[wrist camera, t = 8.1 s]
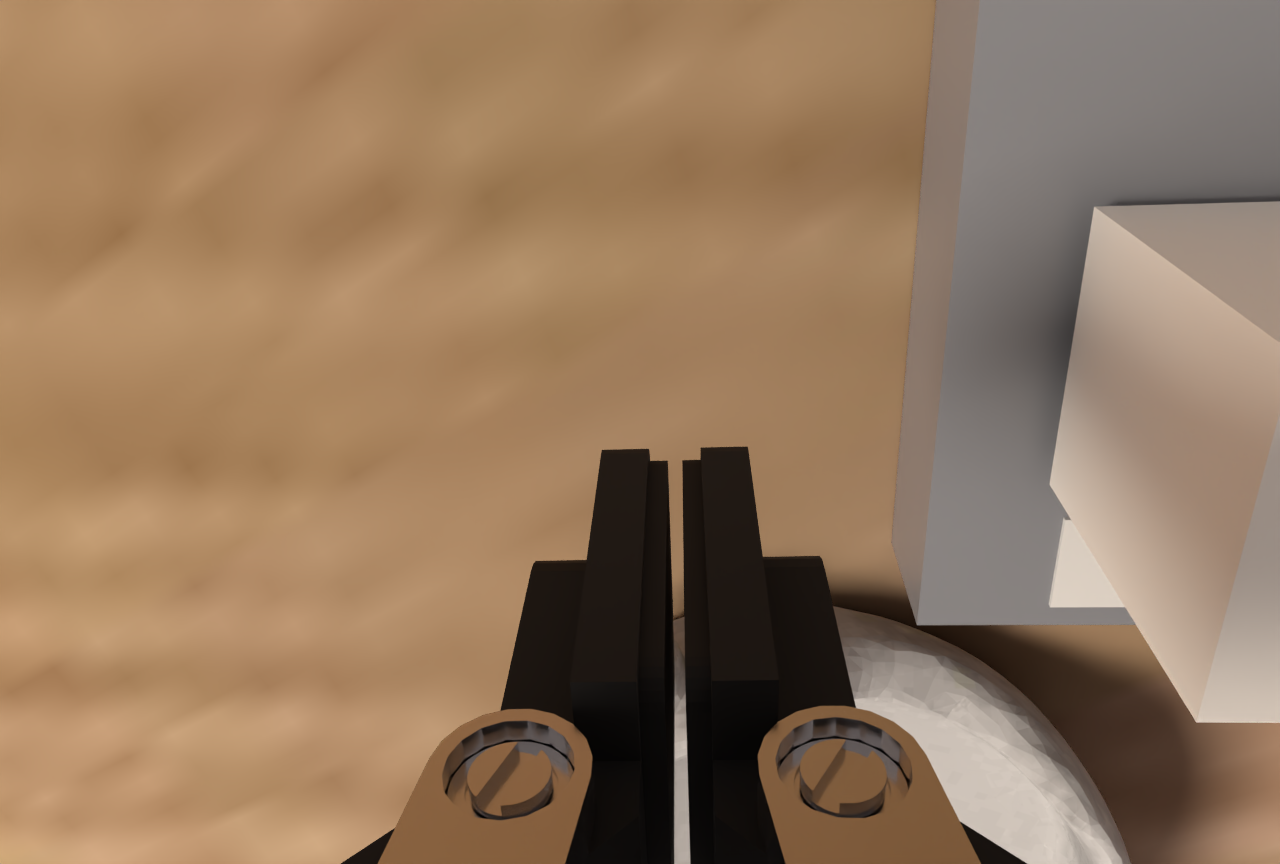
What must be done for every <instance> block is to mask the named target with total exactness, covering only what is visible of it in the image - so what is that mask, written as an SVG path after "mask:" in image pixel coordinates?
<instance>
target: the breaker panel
mask: <svg viewBox="0 0 1280 864" xmlns="http://www.w3.org/2000/svg"><path fill="white" fill-rule="evenodd" d="M1274 201H1280V0H936V10H935V22H934V34H933V46H932V58H931V70H930V83H929V95H928V107H927V119H926V131H925V143H924V155H923V167H922V179H921V191H920V204H919V216H918V228H917V240H916V252H915V264H914V276H913V288H912V300H911V313H910V325H909V337H908V349H907V361H906V373H905V385H904V397H903V409H902V421H901V434H900V446H899V458H898V470H897V482H896V494H895V506H894V518H893V530H892V546H893V549H894V552H895V556H896V559H897V562H898V565H899V569H900V572H901V575H902V578H903V582H904V585H905V588H906V591H907V594H908V598H909V601H910V604H911V607H912V611H913V614H914V617H915V620H916V624H917V625H1136V624H1135V622H1134V621H1133V619H1132V617H1131V616H1130V614H1129V613H1128V611H1127V609H1126V608H1125V606H1124V604H1123V603H1122V601H1121V600H1120V598H1119V596H1118V595H1117V593H1116V591H1115V590H1114V588H1113V587H1112V585H1111V583H1110V582H1109V580H1108V579H1107V577H1106V575H1105V574H1104V572H1103V570H1102V569H1101V567H1100V566H1099V564H1098V562H1097V561H1096V559H1095V557H1094V556H1093V554H1092V553H1091V551H1090V549H1089V548H1088V546H1087V545H1086V543H1085V541H1084V540H1083V538H1082V536H1081V535H1080V533H1079V532H1078V530H1077V528H1076V527H1075V525H1074V523H1073V522H1072V520H1071V519H1070V517H1069V515H1068V514H1067V512H1066V510H1065V509H1064V507H1063V506H1062V504H1061V502H1060V501H1059V499H1058V498H1057V496H1056V494H1055V493H1054V491H1053V489H1052V488H1051V486H1050V485H1049V484H1050V478H1051V471H1052V465H1053V459H1054V453H1055V447H1056V440H1057V434H1058V428H1059V422H1060V416H1061V409H1062V403H1063V397H1064V391H1065V385H1066V378H1067V372H1068V366H1069V360H1070V354H1071V347H1072V341H1073V335H1074V329H1075V323H1076V316H1077V310H1078V304H1079V298H1080V291H1081V285H1082V279H1083V273H1084V267H1085V260H1086V254H1087V248H1088V242H1089V236H1090V229H1091V223H1092V217H1093V211H1094V207H1097V206H1132V205H1168V204H1203V203H1239V202H1274Z"/></svg>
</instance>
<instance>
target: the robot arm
mask: <svg viewBox="0 0 1280 864" xmlns="http://www.w3.org/2000/svg"><path fill="white" fill-rule="evenodd" d="M683 542H684V626H685V691H686V729H687V764H688V799H689V834H690V864H1027V863H1026V862H1024V861H1022V860H1021V859H1019V858H1018V857H1016V856H1014V855H1013V854H1011V853H1010V852H1008V851H1006V850H1005V849H1003V848H1002V847H1000V846H998V845H997V844H995V843H994V842H992V841H991V840H989V839H987V838H986V837H984V836H983V835H981V834H979V833H978V832H976V831H975V830H973V829H971V828H970V827H968V826H967V825H965V824H963V823H962V822H960V821H959V819H958V817H957V815H956V813H955V811H954V809H953V807H952V805H951V803H950V801H949V799H948V797H947V795H946V793H945V791H944V789H943V787H942V785H941V783H940V781H939V779H938V777H937V775H936V773H935V771H934V769H933V767H932V765H931V763H930V761H929V759H928V757H927V755H926V754H925V752H924V751H923V749H922V748H921V747H920V745H919V744H918V743H917V741H916V740H915V739H914V737H913V736H912V735H910V734H909V733H908V732H907V731H905V730H904V729H903V728H901V727H900V726H899V725H898V724H896V723H895V722H894V721H891V720H889V719H887V718H885V717H882V716H880V715H878V714H876V713H874V712H871V711H868V710H863V709H858V708H856V706H855V701H854V697H853V692H852V688H851V683H850V679H849V675H848V670H847V666H846V661H845V657H844V652H843V648H842V644H841V639H840V635H839V630H838V626H837V621H836V617H835V613H834V608H833V604H832V599H831V595H830V590H829V586H828V582H827V577H826V573H825V568H824V564H823V561H822V558H821V557H820V556H795V557H763V556H762V549H761V541H760V534H759V526H758V519H757V512H756V504H755V497H754V489H753V482H752V474H751V467H750V459H749V452H748V447H711V448H701V460H683ZM674 760H675V664H674V629H673V599H672V570H671V541H670V512H669V483H668V461H650V454H649V449H623V450H602V453H601V460H600V467H599V474H598V481H597V489H596V496H595V503H594V511H593V518H592V525H591V532H590V540H589V547H588V554H587V560H567V561H536V562H535V563H534V564H533V567H532V570H531V574H530V579H529V583H528V588H527V592H526V597H525V601H524V606H523V610H522V615H521V620H520V624H519V629H518V633H517V638H516V642H515V647H514V652H513V656H512V661H511V665H510V670H509V674H508V679H507V684H506V688H505V693H504V697H503V702H502V706H501V711H498V712H494V713H490V714H485V715H482V716H480V717H478V718H476V719H474V720H471V721H469V722H467V723H465V724H463V725H461V726H460V727H458V728H457V729H456V730H455V731H453V732H452V733H451V734H450V735H448V736H447V737H446V738H445V739H443V740H442V741H441V743H440V744H439V746H438V747H437V748H436V750H435V751H434V753H433V754H432V755H431V757H430V758H429V760H428V762H427V764H426V766H425V768H424V770H423V772H422V774H421V776H420V778H419V780H418V782H417V784H416V787H415V789H414V791H413V793H412V795H411V797H410V799H409V801H408V803H407V805H406V807H405V809H404V811H403V813H402V815H401V817H400V819H399V821H398V823H397V825H396V827H395V828H394V829H393V830H391V831H390V832H388V833H387V834H385V835H384V836H382V837H381V838H379V839H378V840H376V841H375V842H373V843H372V844H370V845H368V846H367V847H365V848H364V849H362V850H361V851H359V852H358V853H356V854H355V855H353V856H352V857H350V858H349V859H347V860H346V861H344V862H343V863H341V864H674Z"/></svg>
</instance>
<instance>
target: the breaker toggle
mask: <svg viewBox="0 0 1280 864" xmlns="http://www.w3.org/2000/svg"><path fill="white" fill-rule="evenodd" d="M1049 485H1050V486H1051V488H1052V489H1053V491H1054V493H1055V494H1056V496H1057V498H1058V499H1059V501H1060V502H1061V504H1062V506H1063V507H1064V509H1065V510H1066V512H1067V514H1068V515H1069V517H1070V519H1071V520H1072V522H1073V523H1074V525H1075V527H1076V528H1077V530H1078V532H1079V533H1080V535H1081V536H1082V538H1083V540H1084V541H1085V543H1086V545H1087V546H1088V548H1089V549H1090V551H1091V553H1092V554H1093V556H1094V557H1095V559H1096V561H1097V562H1098V564H1099V566H1100V567H1101V569H1102V570H1103V572H1104V574H1105V575H1106V577H1107V579H1108V580H1109V582H1110V583H1111V585H1112V587H1113V588H1114V590H1115V591H1116V593H1117V595H1118V596H1119V598H1120V600H1121V601H1122V603H1123V604H1124V606H1125V608H1126V609H1127V611H1128V613H1129V614H1130V616H1131V617H1132V619H1133V621H1134V622H1135V624H1136V626H1137V627H1138V629H1139V630H1140V632H1141V634H1142V635H1143V637H1144V638H1145V640H1146V642H1147V643H1148V645H1149V647H1150V648H1151V650H1152V651H1153V653H1154V655H1155V656H1156V658H1157V660H1158V661H1159V663H1160V664H1161V666H1162V668H1163V669H1164V671H1165V672H1166V674H1167V676H1168V677H1169V679H1170V681H1171V682H1172V684H1173V685H1174V687H1175V689H1176V690H1177V692H1178V694H1179V695H1180V697H1181V698H1182V700H1183V702H1184V703H1185V705H1186V707H1187V708H1188V710H1189V711H1190V713H1191V715H1192V716H1193V718H1194V719H1195V721H1196V722H1209V723H1280V201H1274V202H1239V203H1203V204H1168V205H1132V206H1097V207H1094V211H1093V217H1092V223H1091V229H1090V236H1089V242H1088V248H1087V254H1086V260H1085V267H1084V273H1083V279H1082V285H1081V291H1080V298H1079V304H1078V310H1077V316H1076V323H1075V329H1074V335H1073V341H1072V347H1071V354H1070V360H1069V366H1068V372H1067V378H1066V385H1065V391H1064V397H1063V403H1062V409H1061V416H1060V422H1059V428H1058V434H1057V440H1056V447H1055V453H1054V459H1053V465H1052V471H1051V478H1050V484H1049Z"/></svg>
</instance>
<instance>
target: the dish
mask: <svg viewBox="0 0 1280 864" xmlns="http://www.w3.org/2000/svg"><path fill="white" fill-rule="evenodd" d="M833 608H834V613H835V617H836V621H837V626H838V630H839V635H840V639H841V644H842V648H843V652H844V657H845V661H846V666H847V670H848V675H849V679H850V683H851V688H852V692H853V697H854V701H855V706H856V708H858V709H863V710H868V711H871V712H874V713H876V714H878V715H880V716H882V717H885V718H887V719H889V720H891V721H894V722H895V723H896V724H898V725H899V726H900V727H901V728H903V729H904V730H905V731H907V732H908V733H909V734H910V735H912V736H913V737H914V739H915V740H916V741H917V743H918V744H919V745H920V747H921V748H922V749H923V751H924V752H925V754H926V755H927V757H928V759H929V761H930V763H931V765H932V767H933V769H934V771H935V773H936V775H937V777H938V779H939V781H940V783H941V785H942V787H943V789H944V791H945V793H946V795H947V797H948V799H949V801H950V803H951V805H952V807H953V809H954V811H955V813H956V815H957V817H958V819H959V821H960V822H962V823H963V824H965V825H967V826H968V827H970V828H971V829H973V830H975V831H976V832H978V833H979V834H981V835H983V836H984V837H986V838H987V839H989V840H991V841H992V842H994V843H995V844H997V845H998V846H1000V847H1002V848H1003V849H1005V850H1006V851H1008V852H1010V853H1011V854H1013V855H1014V856H1016V857H1018V858H1019V859H1021V860H1022V861H1024V862H1026V863H1027V864H1131V862H1130V859H1129V856H1128V853H1127V850H1126V847H1125V844H1124V841H1123V839H1122V836H1121V834H1120V832H1119V830H1118V828H1117V826H1116V824H1115V822H1114V819H1113V817H1112V815H1111V813H1110V811H1109V809H1108V807H1107V804H1106V802H1105V801H1104V799H1103V797H1102V795H1101V794H1100V792H1099V790H1098V788H1097V787H1096V785H1095V783H1094V782H1093V780H1092V779H1091V777H1090V776H1089V774H1088V772H1087V771H1086V769H1085V768H1084V766H1083V765H1082V763H1081V762H1080V760H1079V759H1078V757H1077V756H1076V755H1075V753H1074V752H1073V750H1072V749H1071V748H1070V746H1069V745H1068V743H1067V742H1066V741H1065V739H1064V738H1063V737H1062V736H1061V734H1060V733H1059V732H1058V731H1057V730H1056V728H1055V727H1054V726H1053V725H1052V724H1051V722H1050V721H1049V720H1048V719H1047V718H1046V717H1045V716H1044V715H1043V714H1042V712H1041V711H1040V710H1039V709H1038V708H1037V707H1036V706H1035V705H1034V704H1033V703H1032V702H1031V701H1030V700H1029V699H1028V698H1027V697H1026V696H1025V695H1024V694H1023V693H1022V692H1021V691H1020V690H1018V689H1017V688H1016V687H1015V686H1014V685H1013V684H1011V683H1010V682H1009V681H1008V680H1007V679H1005V678H1004V677H1003V676H1002V675H1000V674H999V673H998V672H996V671H995V670H993V669H992V668H991V667H989V666H988V665H986V664H985V663H984V662H982V661H981V660H979V659H978V658H976V657H974V656H973V655H971V654H969V653H967V652H966V651H964V650H962V649H960V648H959V647H957V646H955V645H952V644H950V643H948V642H946V641H944V640H941V639H939V638H937V637H935V636H933V635H930V634H928V633H926V632H923V631H921V630H918V629H915V628H913V627H910V626H908V625H905V624H902V623H900V622H897V621H893V620H890V619H887V618H884V617H880V616H876V615H872V614H867V613H863V612H858V611H853V610H849V609H844V608H840V607H835V606H833ZM673 629H674V664H675V760H674V864H690V834H689V799H688V764H687V729H686V691H685V626H684V617H682V618H679V619H676V620H674V621H673Z"/></svg>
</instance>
